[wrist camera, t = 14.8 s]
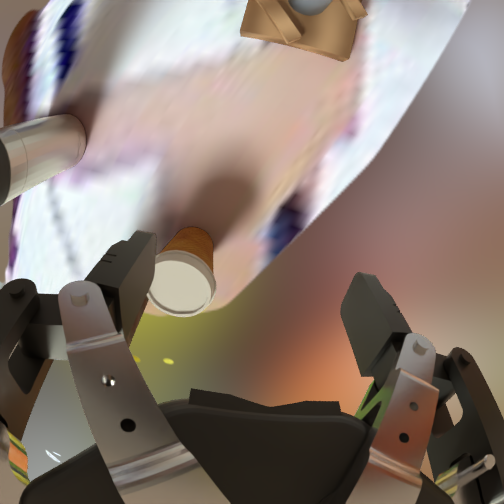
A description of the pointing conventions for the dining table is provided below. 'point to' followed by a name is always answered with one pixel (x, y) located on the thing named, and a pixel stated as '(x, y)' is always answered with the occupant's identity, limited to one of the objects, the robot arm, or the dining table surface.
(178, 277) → the disposable coffee cup
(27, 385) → the robot arm
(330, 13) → the display stand
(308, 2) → the flask
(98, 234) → the dining table surface
